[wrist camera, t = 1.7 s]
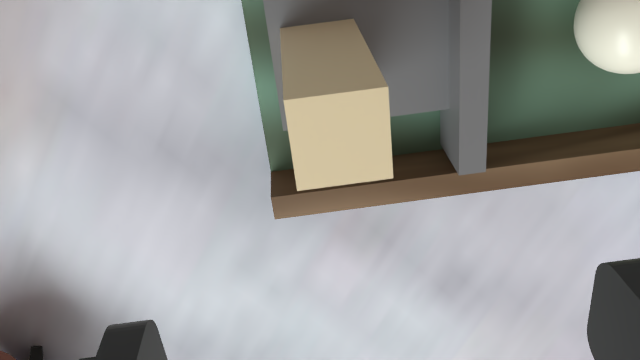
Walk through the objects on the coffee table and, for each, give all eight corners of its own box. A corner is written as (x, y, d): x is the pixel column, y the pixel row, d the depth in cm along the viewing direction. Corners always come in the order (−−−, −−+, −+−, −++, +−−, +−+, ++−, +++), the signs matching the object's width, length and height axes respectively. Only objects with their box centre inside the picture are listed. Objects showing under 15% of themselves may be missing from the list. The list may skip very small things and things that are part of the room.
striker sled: (252, -82, 23) (240, -47, 14) (468, -110, 23) (581, -91, 15) (289, 163, 28) (297, 293, 20) (464, 140, 28) (545, 259, 20)
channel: (222, -128, 24) (203, -123, 17) (944, -220, 24) (1198, -249, 17) (274, 178, 31) (275, 265, 24) (832, 104, 31) (982, 171, 24)
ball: (561, -37, 25) (613, -18, 21) (661, -50, 25) (732, -33, 21) (552, 62, 27) (598, 95, 23) (645, 49, 27) (706, 81, 23)
